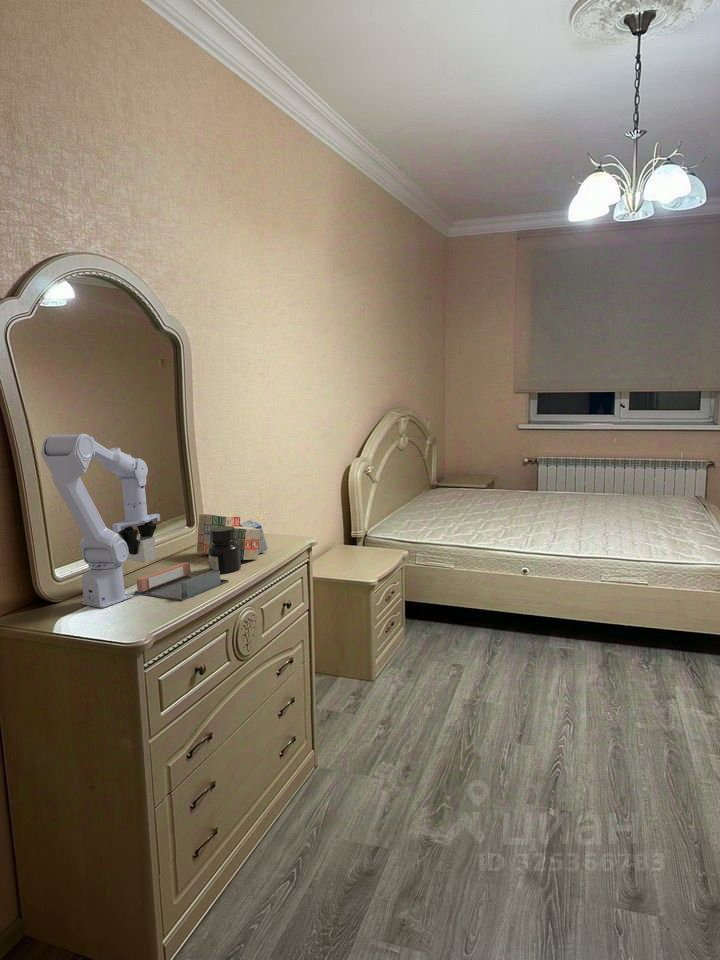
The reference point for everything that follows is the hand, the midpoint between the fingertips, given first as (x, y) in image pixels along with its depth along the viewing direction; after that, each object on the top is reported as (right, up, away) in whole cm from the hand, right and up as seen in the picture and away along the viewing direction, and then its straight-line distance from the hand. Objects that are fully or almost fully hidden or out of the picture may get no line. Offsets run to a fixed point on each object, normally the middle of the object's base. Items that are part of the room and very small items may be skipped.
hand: (139, 552), depth 181 cm
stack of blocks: (+19, -4, +24) cm, 31 cm away
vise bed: (+13, -9, -5) cm, 16 cm away
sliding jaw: (+8, -8, -2) cm, 11 cm away
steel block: (0, -2, 0) cm, 2 cm away
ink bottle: (+21, -6, +11) cm, 24 cm away
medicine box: (+27, -2, +30) cm, 40 cm away
